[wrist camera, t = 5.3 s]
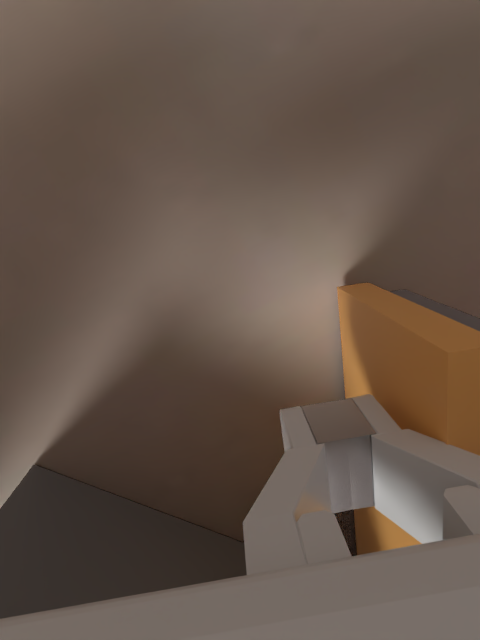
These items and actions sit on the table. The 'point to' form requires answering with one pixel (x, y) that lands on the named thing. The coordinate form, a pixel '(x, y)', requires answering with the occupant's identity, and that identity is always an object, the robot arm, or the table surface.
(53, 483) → the gray box
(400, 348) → the door
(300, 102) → the table surface
